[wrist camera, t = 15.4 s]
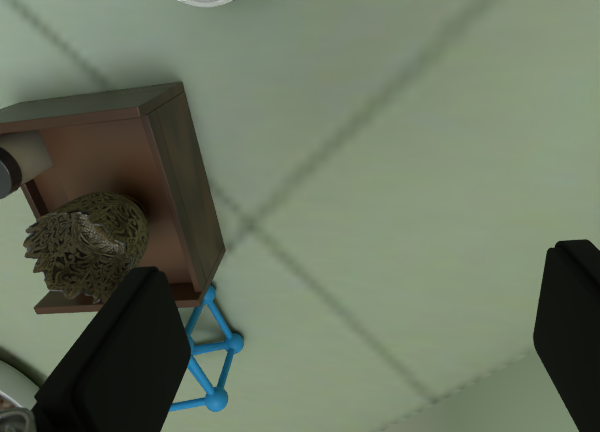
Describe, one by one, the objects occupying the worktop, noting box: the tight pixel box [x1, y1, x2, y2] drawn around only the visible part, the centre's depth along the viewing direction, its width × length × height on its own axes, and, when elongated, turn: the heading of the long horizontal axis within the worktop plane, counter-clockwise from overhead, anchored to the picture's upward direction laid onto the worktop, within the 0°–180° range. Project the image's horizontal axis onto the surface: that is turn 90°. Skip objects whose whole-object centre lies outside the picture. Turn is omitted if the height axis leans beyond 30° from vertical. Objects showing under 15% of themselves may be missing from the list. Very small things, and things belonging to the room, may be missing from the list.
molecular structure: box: [169, 285, 244, 412], centre depth 45 cm, size 10×10×10 cm
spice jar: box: [0, 130, 54, 199], centre depth 34 cm, size 4×4×7 cm
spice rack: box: [0, 82, 225, 314], centre depth 38 cm, size 18×16×9 cm
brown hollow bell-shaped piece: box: [23, 192, 149, 304], centre depth 32 cm, size 8×7×8 cm
